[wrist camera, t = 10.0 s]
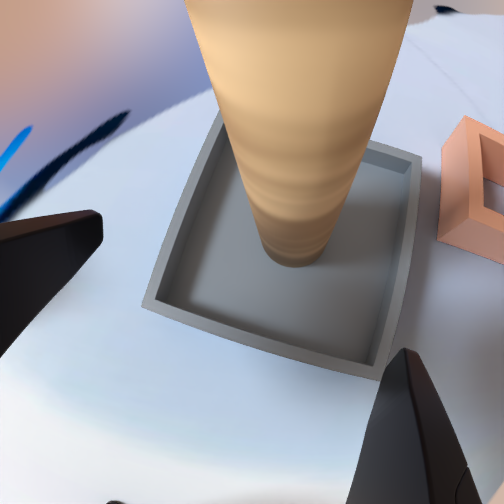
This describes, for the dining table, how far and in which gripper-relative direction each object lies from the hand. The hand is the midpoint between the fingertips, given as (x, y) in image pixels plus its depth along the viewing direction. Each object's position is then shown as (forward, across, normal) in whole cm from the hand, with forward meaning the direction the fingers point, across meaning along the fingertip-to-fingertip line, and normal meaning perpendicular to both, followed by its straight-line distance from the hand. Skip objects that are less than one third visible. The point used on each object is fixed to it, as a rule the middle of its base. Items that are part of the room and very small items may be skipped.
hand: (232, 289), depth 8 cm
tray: (+10, 0, +3) cm, 10 cm away
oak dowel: (+9, 0, +2) cm, 9 cm away
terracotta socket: (+15, -11, -2) cm, 19 cm away
